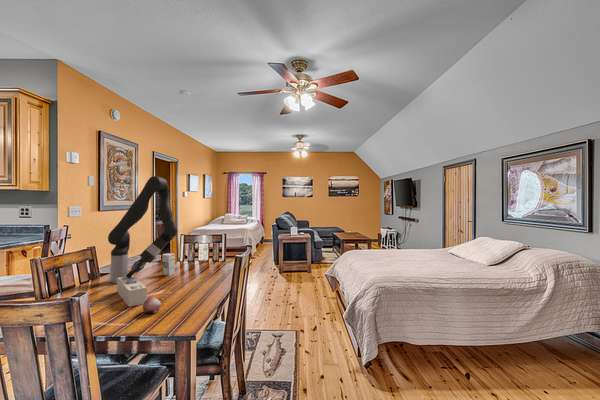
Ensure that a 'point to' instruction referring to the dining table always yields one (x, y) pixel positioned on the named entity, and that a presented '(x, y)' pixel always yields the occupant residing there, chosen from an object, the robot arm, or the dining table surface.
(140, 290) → the block
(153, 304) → the onion
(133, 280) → the slate button
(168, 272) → the syrup box
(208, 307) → the dining table surface
